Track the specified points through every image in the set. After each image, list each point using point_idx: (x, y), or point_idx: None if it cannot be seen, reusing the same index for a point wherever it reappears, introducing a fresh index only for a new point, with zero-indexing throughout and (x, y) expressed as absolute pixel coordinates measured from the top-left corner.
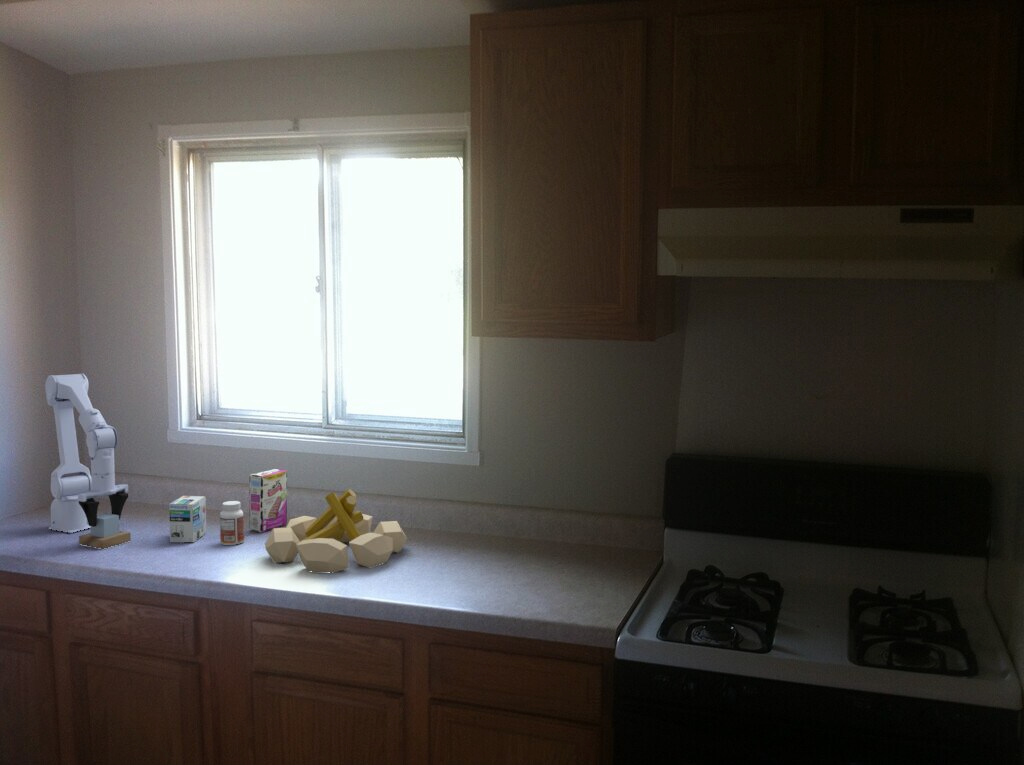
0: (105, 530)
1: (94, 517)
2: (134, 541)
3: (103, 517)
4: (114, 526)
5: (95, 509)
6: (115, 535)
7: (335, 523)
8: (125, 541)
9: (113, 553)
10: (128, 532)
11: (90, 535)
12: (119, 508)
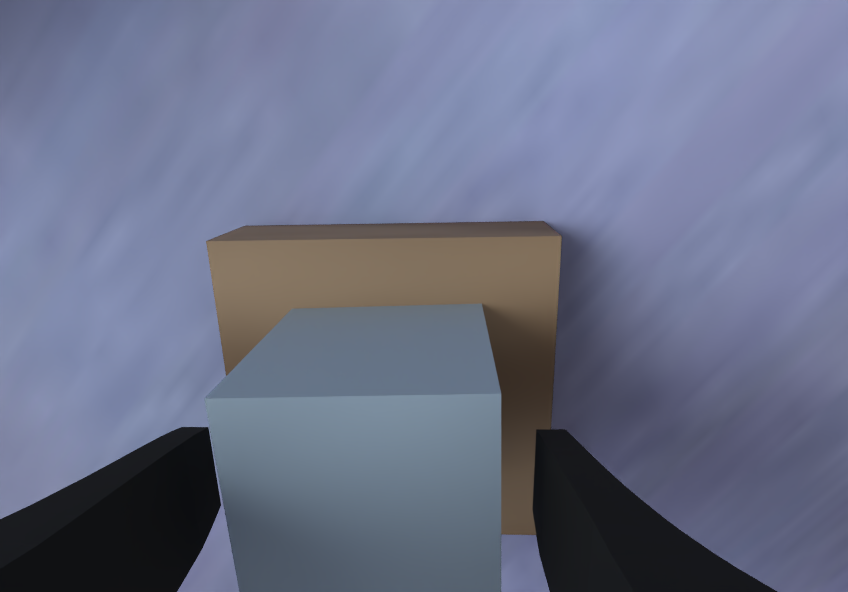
0: (466, 329)
1: (623, 489)
2: (218, 204)
3: (425, 477)
4: (331, 337)
5: (691, 585)
6: (363, 279)
7: None
8: (294, 228)
9: (593, 25)
10: (214, 262)
11: None
12: (89, 515)
